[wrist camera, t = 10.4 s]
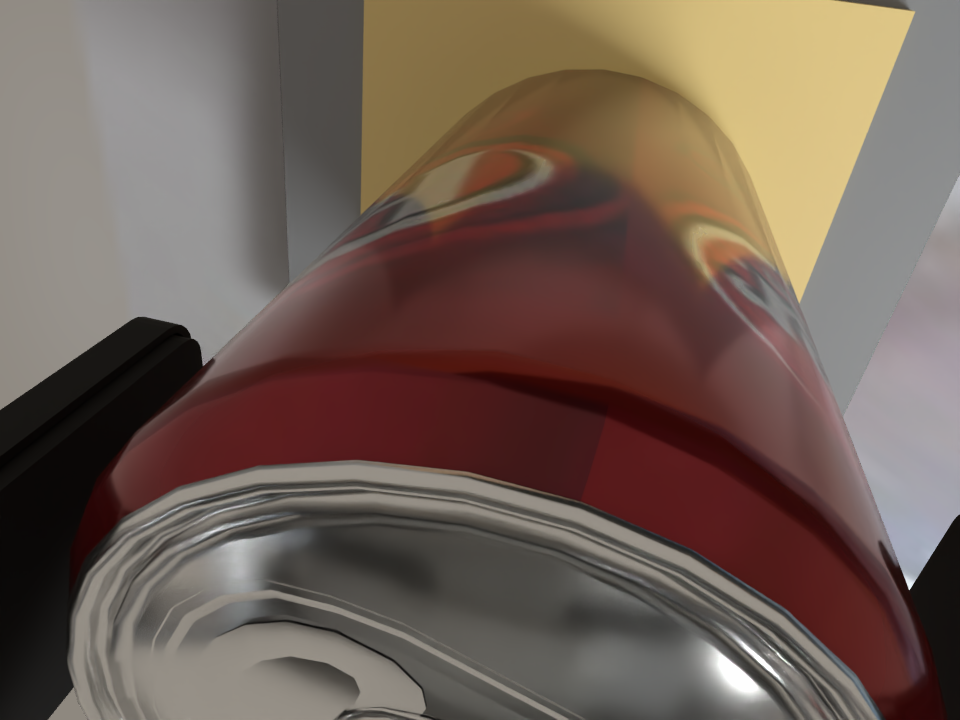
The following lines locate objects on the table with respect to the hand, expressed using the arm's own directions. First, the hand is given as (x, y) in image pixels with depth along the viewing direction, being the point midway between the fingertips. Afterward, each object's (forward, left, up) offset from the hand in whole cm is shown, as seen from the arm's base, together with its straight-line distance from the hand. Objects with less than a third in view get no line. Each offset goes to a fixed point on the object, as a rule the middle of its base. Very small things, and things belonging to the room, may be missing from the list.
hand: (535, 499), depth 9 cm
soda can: (0, 0, -8) cm, 8 cm away
